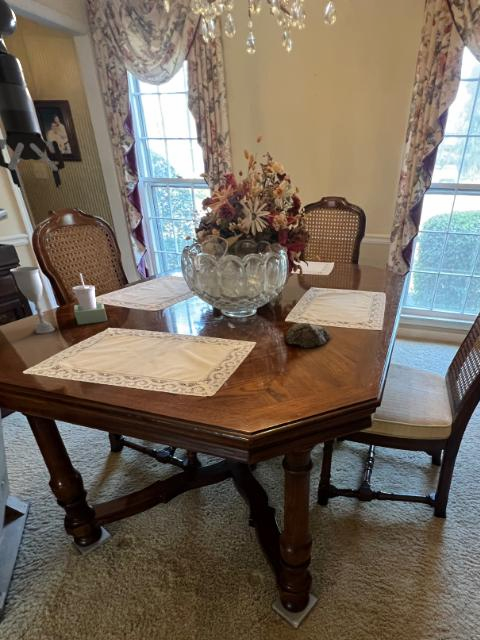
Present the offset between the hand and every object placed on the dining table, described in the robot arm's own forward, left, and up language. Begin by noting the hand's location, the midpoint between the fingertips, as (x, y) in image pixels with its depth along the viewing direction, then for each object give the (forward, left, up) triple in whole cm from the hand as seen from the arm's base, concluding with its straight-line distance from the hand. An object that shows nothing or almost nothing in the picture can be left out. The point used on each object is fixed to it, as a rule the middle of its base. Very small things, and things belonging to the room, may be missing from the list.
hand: (39, 187), depth 99 cm
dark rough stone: (+58, -41, -38) cm, 81 cm away
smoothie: (+4, +8, -38) cm, 38 cm away
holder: (+4, +8, -38) cm, 39 cm away
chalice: (-9, +2, -38) cm, 39 cm away
